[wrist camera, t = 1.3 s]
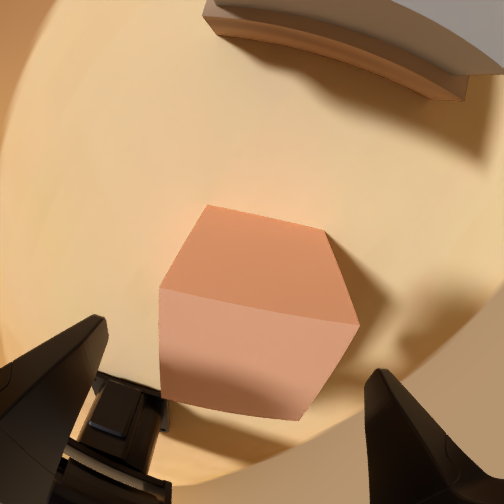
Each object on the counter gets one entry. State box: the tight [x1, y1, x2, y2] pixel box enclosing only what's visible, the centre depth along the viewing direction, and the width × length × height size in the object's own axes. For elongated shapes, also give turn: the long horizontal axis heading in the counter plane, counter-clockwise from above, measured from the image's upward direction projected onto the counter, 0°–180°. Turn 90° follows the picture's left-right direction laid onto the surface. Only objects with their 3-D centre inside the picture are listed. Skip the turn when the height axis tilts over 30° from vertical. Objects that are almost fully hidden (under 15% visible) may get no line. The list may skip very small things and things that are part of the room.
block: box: [159, 205, 360, 421], centre depth 10 cm, size 5×5×6 cm
